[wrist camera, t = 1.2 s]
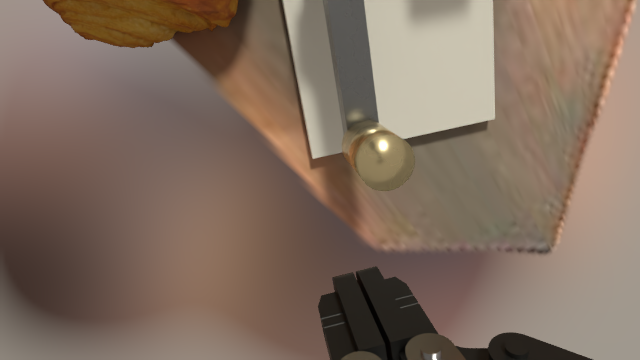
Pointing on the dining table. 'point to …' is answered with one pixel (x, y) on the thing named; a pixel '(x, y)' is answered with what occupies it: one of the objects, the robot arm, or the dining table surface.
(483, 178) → the dining table surface
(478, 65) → the plate
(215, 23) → the croissant
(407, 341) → the robot arm
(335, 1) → the bar
